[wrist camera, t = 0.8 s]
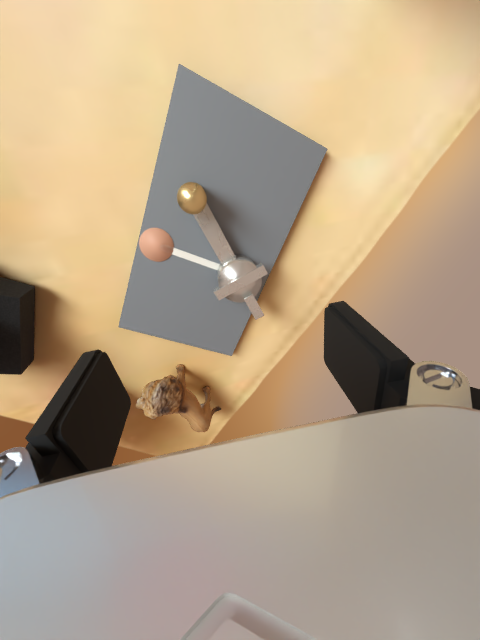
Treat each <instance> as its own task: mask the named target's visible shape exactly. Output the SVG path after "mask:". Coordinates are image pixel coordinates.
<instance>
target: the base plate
mask: <svg viewBox="0 0 480 640" xmlns="http://www.w3.org/2000/svg"><path fill="white" fill-rule="evenodd" d="M326 151H327V148H325V147H323V146H322V145H320V144H318V143H316V142H315V141H313V140H311V139H309V138H308V137H306V136H304V135H302V134H301V133H299V132H297V131H295V130H294V129H292V128H290V127H289V126H287V125H285V124H283V123H282V122H280V121H278V120H276V119H275V118H273V117H271V116H269V115H268V114H266V113H264V112H262V111H261V110H259V109H257V108H255V107H254V106H252V105H250V104H248V103H247V102H245V101H243V100H241V99H240V98H238V97H236V96H234V95H233V94H231V93H229V92H228V91H226V90H224V89H222V88H221V87H219V86H217V85H215V84H214V83H212V82H210V81H208V80H207V79H205V78H203V77H201V76H200V75H198V74H196V73H194V72H193V71H191V70H189V69H187V68H186V67H184V66H182V65H180V64H179V66H178V70H177V75H176V79H175V83H174V88H173V92H172V97H171V101H170V105H169V110H168V114H167V118H166V123H165V127H164V131H163V136H162V140H161V144H160V149H159V153H158V157H157V162H156V166H155V170H154V175H153V179H152V183H151V188H150V192H149V196H148V201H147V205H146V209H145V214H144V218H143V222H142V227H141V231H140V235H139V240H138V244H137V248H136V253H135V257H134V261H133V266H132V270H131V274H130V279H129V283H128V288H127V292H126V296H125V301H124V305H123V309H122V314H121V318H120V322H119V327H120V328H124V329H128V330H132V331H136V332H140V333H144V334H148V335H151V336H155V337H159V338H163V339H167V340H171V341H175V342H179V343H183V344H187V345H191V346H195V347H198V348H202V349H206V350H210V351H214V352H218V353H222V354H226V355H230V356H232V354H233V352H234V350H235V348H236V345H237V343H238V341H239V339H240V337H241V335H242V332H243V330H244V328H245V326H246V324H247V322H248V319H249V317H250V315H251V311H250V309H249V307H248V306H247V304H246V302H240V303H239V302H233V301H230V300H228V299H227V298H223V299H221V300H218V298H217V297H216V295H215V294H214V291H213V289H215V288H216V287H218V286H219V284H218V278H217V271H218V267H219V265H220V264H221V262H220V260H219V259H218V257H217V255H216V253H215V252H214V250H213V248H212V246H211V245H210V243H209V241H208V240H207V238H206V236H205V234H204V233H203V231H202V229H201V227H200V226H199V224H198V222H197V221H196V219H195V217H194V215H193V214H188V213H186V212H185V211H183V210H182V209H181V207H180V206H179V204H178V201H177V193H178V190H179V188H180V187H181V186H182V185H183V184H185V183H187V182H195V183H198V184H199V185H201V186H202V187H203V189H204V191H205V193H206V196H207V204H208V206H209V208H210V210H211V212H212V214H213V215H214V217H215V219H216V221H217V223H218V225H219V227H220V228H221V230H222V232H223V234H224V236H225V238H226V240H227V241H228V243H229V245H230V247H231V249H232V251H233V253H234V254H235V255H236V254H239V255H244V256H247V257H248V258H250V259H251V260H252V261H253V262H254V264H255V265H258V264H260V263H262V264H263V265H264V267H265V269H266V271H267V273H268V274H267V275H265V276H263V277H261V278H262V284H261V288H260V290H259V292H258V293H257V295H256V296H255V299H256V301H257V300H258V298H259V296H260V294H261V291H262V289H263V287H264V285H265V283H266V281H267V278H268V276H269V274H270V272H271V270H272V268H273V266H274V263H275V261H276V259H277V257H278V255H279V253H280V250H281V248H282V246H283V244H284V242H285V240H286V237H287V235H288V233H289V231H290V229H291V227H292V225H293V222H294V220H295V218H296V216H297V214H298V212H299V209H300V207H301V205H302V203H303V201H304V199H305V196H306V194H307V192H308V190H309V188H310V186H311V183H312V181H313V179H314V177H315V175H316V173H317V171H318V168H319V166H320V164H321V162H322V160H323V158H324V155H325V153H326Z"/></svg>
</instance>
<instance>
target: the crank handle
mask: <svg viewBox="0 0 480 640" xmlns="http://www.w3.org/2000/svg"><path fill="white" fill-rule="evenodd" d="M177 201H178V204H179V206H180V207H181V209H182V210H183V211H185V212H186V213H188V214H193V215H194V217H195V219H196V221H197V222H198V224H199V226H200V227H201V229H202V231H203V233H204V234H205V236H206V238H207V240H208V241H209V243H210V245H211V246H212V248H213V250H214V252H215V253H216V255H217V257H218V259H219V260H220V262H221V264H220V265H219V267H218V271H217V278H218V284H219V286H218V287H216V288H215V289H213V291H214V294H215V295H216V297H217V298H218V300H221V299H223V298H227V299H228V300H230V301H233V302H239V303H240V302H246V304H247V306H248V307H249V309H250V311H251V313H252V314H253V316H254V318H255V320H256V319H258V318H260V317H262V316H264V314H263V312H262V310H261V308H260V306H259V304H258V303H257V301H256V299H255V296H256V295H257V293H258V292H259V290H260V288H261V284H262V278H261V277H263V276H265V275H267V274H268V273H267V271H266V269H265V267H264V265H263V264H262V263H260V264H258V265H255V264H254V262H253V261H252V260H251V259H250V258H248V257H247V256H244V255H239V254H236V255H235V254H234V253H233V251H232V249H231V247H230V245H229V243H228V241H227V240H226V238H225V236H224V234H223V232H222V230H221V228H220V227H219V225H218V223H217V221H216V219H215V217H214V215H213V214H212V212H211V210H210V208H209V206H208V204H207V196H206V193H205V191H204V189H203V187H202V186H201V185H199V184H198V183H195V182H187V183H185V184H183V185H182V186H181V187H180V188H179V190H178V193H177Z"/></svg>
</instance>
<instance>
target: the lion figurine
mask: <svg viewBox="0 0 480 640" xmlns="http://www.w3.org/2000/svg"><path fill="white" fill-rule="evenodd" d="M176 369H177V373H178V376H177V379H176V378H174V377H173V376H171V375H170V376H167V377H164V378H163V379H162V380H156V381H154V382H150V383H148V384H147V385H146V386H145V387H144V388H143V389H142V390H143V394H142V397H141V398H139V399H138V400H137V404H136V408H137V409H142V410H143V411H144V414H145V416H147V417H150V418H151V419H156V418H157V417H158V416H162V415H168V414H173V413H179V414H180V415H181V416H183V417H184V418H186V419H187V420H188V421H189V423H190V425H191V427H192V429H193V430H194V431H197V432H206V431H207V430H208V429H209V426H210V422H211V418H212V415H213V414H214V412H216V411H219V410H221V408H220V407H215V408H214V409H213V410H212V411H210V388H209V387H208V386H206V387H204V388H203V392H204V393H205V396H206V401H205V403H204V404H201V405H200V404H199V402H198V400H197V398H196V397H195V395H194V394H193V393H192V392H190V391H189V390H187V389H186V385H185V377H184V373H185V368H184V365H182V364H179V365H177V367H176Z"/></svg>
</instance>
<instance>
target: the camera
mask: <svg viewBox="0 0 480 640" xmlns="http://www.w3.org/2000/svg"><path fill="white" fill-rule="evenodd" d="M34 308H35V286H31V285H28V284H24V283H20V282H17V281H13V280H10V279H6V278H2V277H0V374H22V373H23V372H24V371H25V369H26V368H27V367H28V366H29V365H30V364H31V362H32V361H33V359H34Z"/></svg>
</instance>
